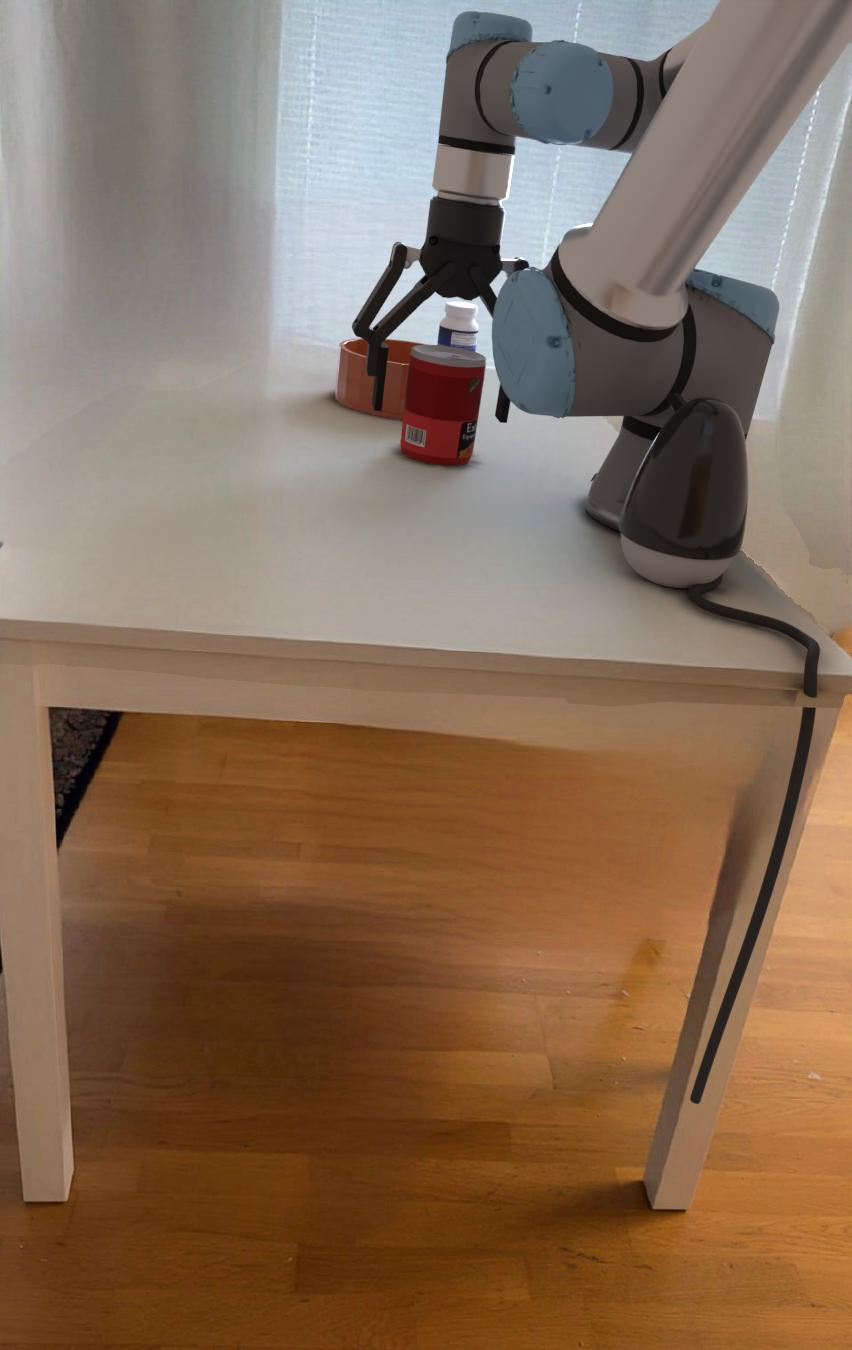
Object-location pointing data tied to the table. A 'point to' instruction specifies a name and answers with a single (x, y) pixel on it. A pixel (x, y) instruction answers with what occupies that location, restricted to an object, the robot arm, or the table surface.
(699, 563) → the dark two-tone rounded device
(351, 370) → the terracotta bowl
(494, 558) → the table surface
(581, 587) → the table surface
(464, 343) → the pill bottle
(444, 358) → the canned food
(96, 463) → the table surface
